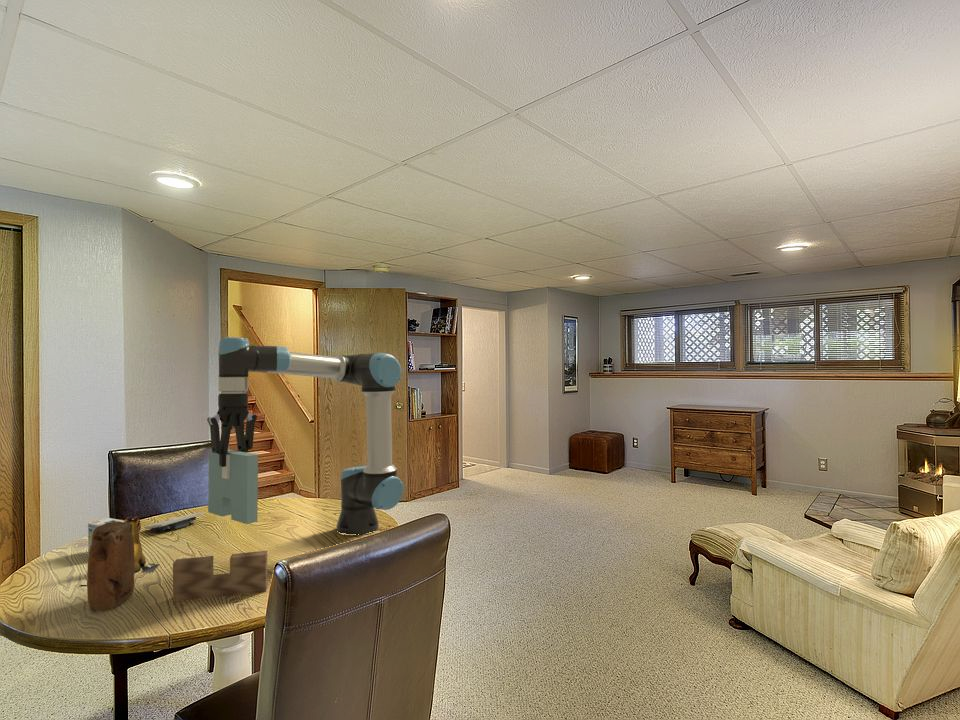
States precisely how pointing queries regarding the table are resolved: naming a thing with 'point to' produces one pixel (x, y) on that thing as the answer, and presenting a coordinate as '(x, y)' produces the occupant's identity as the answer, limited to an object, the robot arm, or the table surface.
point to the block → (110, 566)
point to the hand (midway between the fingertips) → (232, 476)
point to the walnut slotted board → (219, 576)
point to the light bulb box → (95, 524)
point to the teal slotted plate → (234, 487)
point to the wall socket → (174, 522)
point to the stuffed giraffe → (139, 548)
